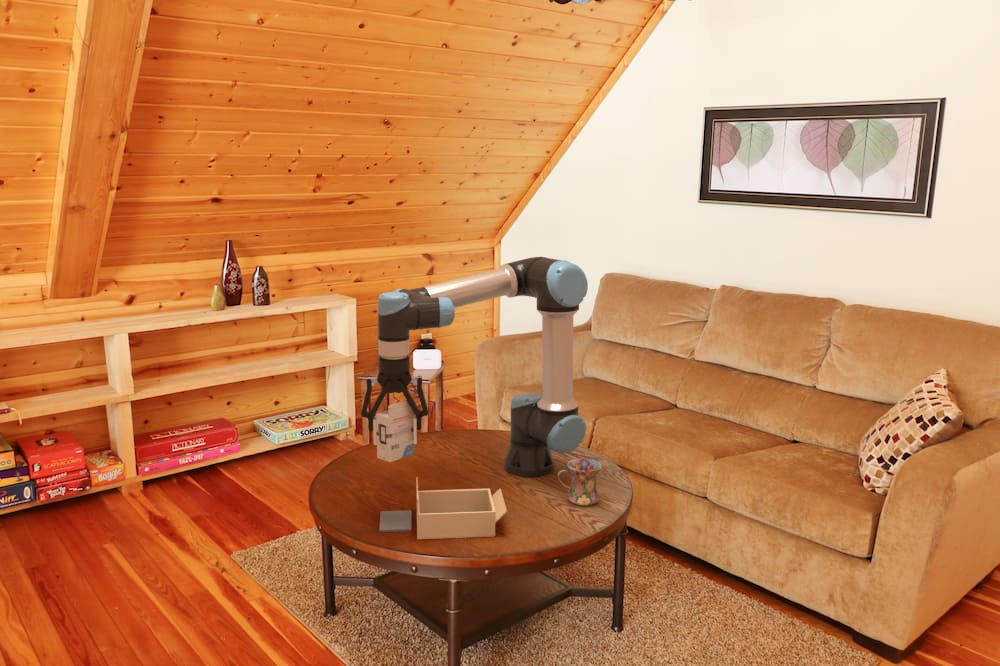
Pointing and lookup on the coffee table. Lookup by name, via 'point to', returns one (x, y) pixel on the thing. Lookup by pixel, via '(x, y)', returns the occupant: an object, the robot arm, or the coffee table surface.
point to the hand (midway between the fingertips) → (395, 442)
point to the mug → (582, 481)
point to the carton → (458, 513)
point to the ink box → (395, 432)
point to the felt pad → (395, 521)
